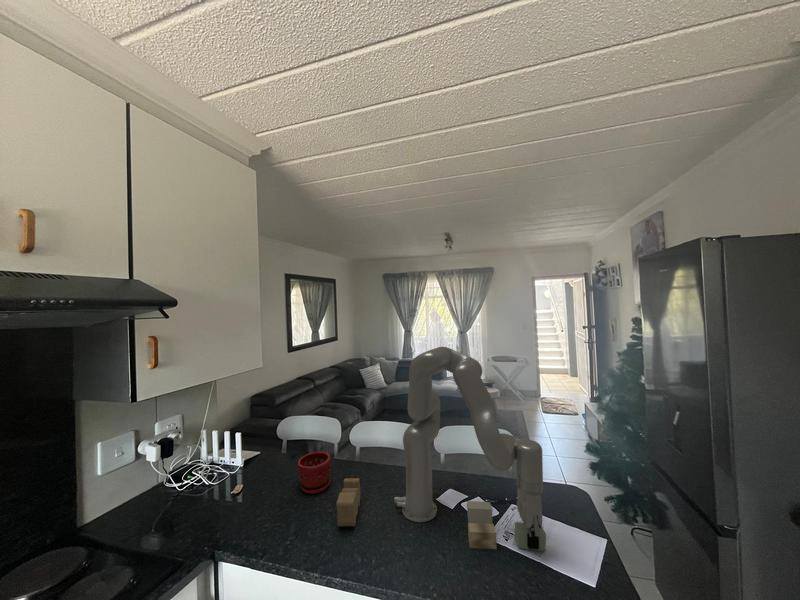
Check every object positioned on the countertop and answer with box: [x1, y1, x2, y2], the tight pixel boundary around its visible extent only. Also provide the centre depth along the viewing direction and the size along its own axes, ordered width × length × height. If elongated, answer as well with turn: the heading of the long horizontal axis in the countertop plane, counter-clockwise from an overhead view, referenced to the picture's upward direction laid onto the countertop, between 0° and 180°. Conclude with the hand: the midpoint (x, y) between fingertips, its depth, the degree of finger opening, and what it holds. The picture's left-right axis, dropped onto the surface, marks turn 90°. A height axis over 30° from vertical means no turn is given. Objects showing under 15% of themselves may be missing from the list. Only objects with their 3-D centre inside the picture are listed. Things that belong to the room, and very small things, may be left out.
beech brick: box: [467, 522, 497, 550], centre depth 96 cm, size 8×4×5 cm, turn 85°
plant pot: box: [297, 451, 332, 494], centre depth 128 cm, size 13×13×12 cm
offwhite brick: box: [466, 500, 493, 524], centre depth 107 cm, size 8×4×5 cm, turn 83°
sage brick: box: [513, 521, 547, 552], centre depth 95 cm, size 8×4×5 cm, turn 85°
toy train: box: [335, 477, 362, 527], centre depth 111 cm, size 6×17×10 cm, turn 179°
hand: (530, 541), depth 95 cm, fingers closed on sage brick, 4 cm apart
